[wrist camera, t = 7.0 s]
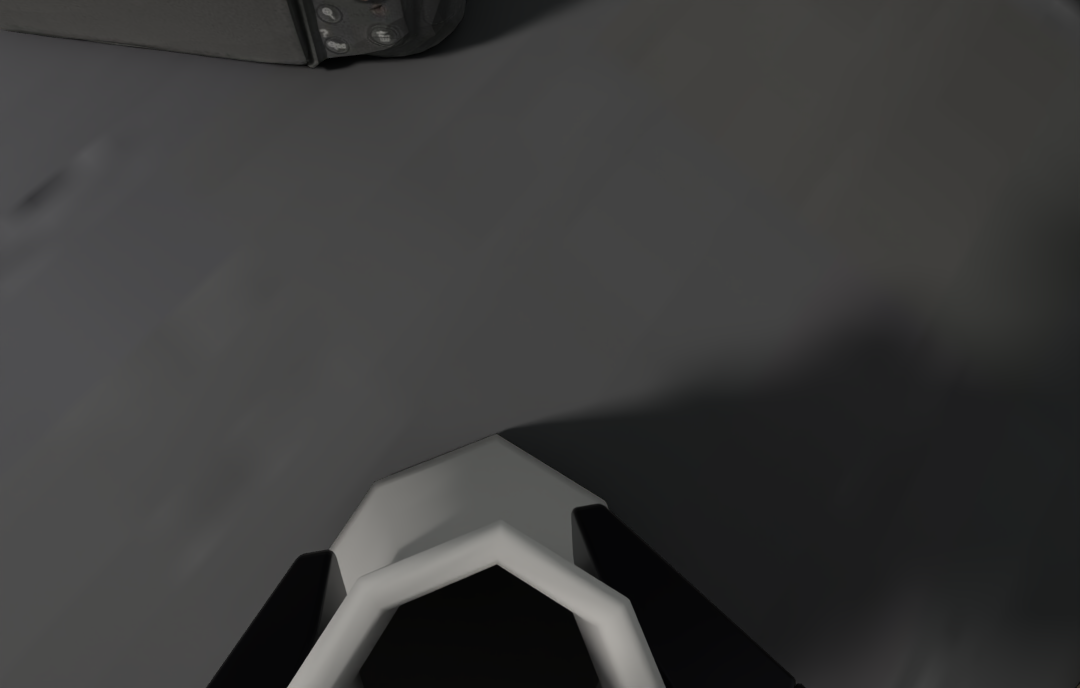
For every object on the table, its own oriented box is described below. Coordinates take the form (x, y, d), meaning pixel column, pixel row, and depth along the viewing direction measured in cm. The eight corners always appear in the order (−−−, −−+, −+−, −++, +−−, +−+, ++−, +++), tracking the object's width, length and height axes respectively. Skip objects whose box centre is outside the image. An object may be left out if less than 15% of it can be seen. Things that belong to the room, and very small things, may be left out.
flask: (501, 381, 16) (533, 159, 7) (712, 630, 15) (1103, 781, 6) (236, 595, 15) (-215, 699, 5) (452, 892, 14) (392, 1731, 4)
